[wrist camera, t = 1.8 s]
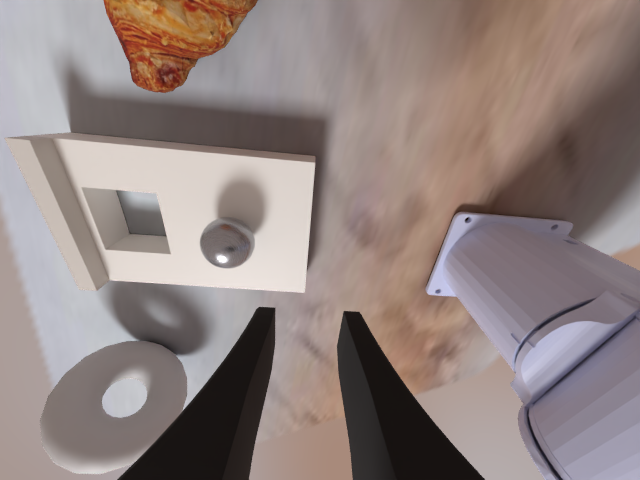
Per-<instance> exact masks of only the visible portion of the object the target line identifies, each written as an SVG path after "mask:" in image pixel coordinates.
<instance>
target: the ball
mask: <svg viewBox="0 0 640 480" xmlns="http://www.w3.org/2000/svg"><path fill="white" fill-rule="evenodd" d="M254 248H255V238H254V234H253V232H252V230H251V229H250V227H249V226H248V225H247V224H246V223H245V222H243V221H241V220H239V219H237V218H233V217H222V218H218V219H216V220H214V221H212V222H210V223H209V224H208V225H207V226H206V227H205V228H204V230H203V232H202V234H201V237H200V249H201V252H202V254H203V256H204V257H205V259H206V260H207V261H208V262H209V263H211V264H212V265H214V266H216V267H219V268H225V269H229V268H235V267H238V266H240V265H242V264H244V263H245V262H246V261H247V260H248V259H249V258H250V257H251V255H252V253H253V251H254Z"/></svg>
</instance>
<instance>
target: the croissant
mask: <svg viewBox="0 0 640 480" xmlns="http://www.w3.org/2000/svg"><path fill="white" fill-rule="evenodd" d="M257 1H258V0H104V4H105V8H106V13H107V15H108V17H109V20H110V22H111V24H112V26H113V28H114V30H115V32H116V34H117V36H118V39H119V41H120V43H121V45H122V48H123V50H124V53H125V55H126V57H127V59H128V61H129V64H130V72H131V76H132V80H133V82H134V83H135V84H136V85H137V86H139V87H141V88H143V89H146V90H149V91H153V92H162V93H166V92H170V91H173V90H174V89H175V88H176V87H179V86H182V85H183V84H184V82H185V81H186V79H187V76H188V73H189V71H190V70H191V68H192V67H195V65H196V62H197V60H198V58H201V57H205V56H209V55H212V54H214V53H215V52H217V51H219V50H220V49H222V48H224V47H225V46H226V45H227V44H228V42H229V41H230V39H231V37H232V36H233V35H234V34H235V33H236V32H237V30H238V27H239V25H240V24H241V22H242V21H243V19H244V18H245V17H246V15H247V13H248V12H249V11H250V10H251V9H252V8H253V7H254V6H255V5H256V3H257Z"/></svg>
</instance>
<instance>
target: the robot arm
mask: <svg viewBox="0 0 640 480" xmlns="http://www.w3.org/2000/svg"><path fill="white" fill-rule="evenodd" d="M467 217H469V219H468V220H467V221H465V219H466V218H467ZM552 226H553V227H552ZM572 228H573V224H572V223H571V222H568V221H563V220H551V219H539V218H528V217H516V216H504V215H493V214H481V213H470V212H459V213H457V214H455V216H454V217H453V220H452V222H451V225H450V227H449V230H448V233H447V235H446V238H445V240H444V243H443V245H442V248H441V251H440V253H439V256H438V258H437V261H436V264H435V266H434V269H433V271H432V274H431V276H430V279H429V282H428V284H427V287H426V292H427V293H428V294H429V295H440V296H455V297H458V299H459V300H460V301H461V303H462V304H463V305H464V307H465V308H466V309H467V310H468V312H469V313H470V314H471V316H472V317H473V318H474V320H475V321H476V322H477V324H478V325H479V326H480V328H481V329H482V330H483V332H484V333H485V334H486V335H487V337H488V338H489V339H490V341H491V342H492V343H493V345H494V346H495V347H496V349H497V350H498V351H499V353H500V354H501V355H502V356H503V358H504V359H505V360H506V362H507V363H508V364H509V366H510V367H511V368H512V370H513V371H514V372H515V373H516V376H515V378H514V380H513V381H512V382H511V384H510V385H511V387H512V388H513V390H514V391H515V392H516V394H517V395H518V397H519V398H520V399H521V401H522V402H523V405H522V406H521V408H520V410H519V414H518V424H519V429H520V433H521V436H522V439H523V441H524V444H525V446H526V448H527V450H528V452H529V454H530V456H531V458H532V460H533V462H534V463H535V465H536V467H537V468H538V470H539V471H540V473H541V474H542V476H543V478H544V479H545V480H640V271H639V270H637V269H635V268H633V267H631V266H629V265H626V264H625V263H623V262H621V261H619V260H617V259H614V258H612V257H610V256H608V255H606V254H604V253H602V252H600V251H598V250H596V249H594V248H592V247H590V246H588V245H586V244H584V243H582V242H580V241H578V240H576V239H574V238H572V237H570V236H568V234H569V233H570V231H571V230H572ZM437 289H439V290H437ZM436 290H437V291H436ZM274 348H275V308H269V307H259V308H257V309H256V311H255V313H254V315H253V317H252V318H251V320H250V322H249V324H248V325H247V327H246V329H245V330H244V332H243V333H242V335H241V336H240V338H239V339H238V341H237V342H236V344H235V345H234V347H233V348H232V349H231V351H230V352H229V354H228V355H227V357H226V358H225V359H224V361H223V362H222V363H221V365H220V366H219V367H218V369H217V370H216V371H215V372H214V374H213V375H212V376H211V378H210V379H209V380H208V382H207V383H206V384H205V385H204V387H203V388H202V389H201V390H200V391H199V393H198V394H197V395H196V396H195V397H194V399H193V400H192V401H191V402H190V403H189V405H188V406H187V407H186V408H185V409H184V410H183V411H182V413H181V414H180V415H179V416H178V417H177V418H176V419H175V420H174V422H173V423H172V424H171V425H170V426H169V427H168V428H167V429H166V430H165V431H164V432H163V433H162V435H161V436H160V437H159V438H158V439H157V440H156V441H155V442H154V443H153V444H152V445H151V446H150V447H149V448H148V449H147V450H146V452H145V453H144V454H143V455H142V456H141V457H140V458H139V459H138V460H137V461H136V462H135V463H134V464H133V465H132V466H131V467H130V468H129V469H128V470H127V471H126V472H125V473H124V474H123V475H122V476H121V477H120V478H119V479H118V480H249V474H250V468H251V462H252V455H253V450H254V445H255V440H256V436H257V431H258V427H259V423H260V418H261V414H262V410H263V405H264V401H265V397H266V392H267V388H268V383H269V379H270V375H271V370H272V363H273V355H274ZM337 353H338V371H339V379H340V385H341V392H342V398H343V405H344V411H345V418H346V424H347V430H348V437H349V444H350V452H351V463H352V475H353V480H485V479H484V478H483V477H482V476H481V475H480V474H479V473H478V471H477V470H476V469H474V467H473V466H472V465H471V464H470V463H469V462H468V461H467V459H465V457H464V456H463V455H462V454H461V453H460V452H459V451H458V450H457V449H456V448H455V446H454V445H453V444H452V443H451V442H450V441H449V439H448V438H447V437H446V436H445V435H444V433H443V432H442V431H441V430H440V429H439V428H438V426H436V424H435V423H434V422H433V421H432V419H431V418H430V417H429V415H428V414H427V413H426V412H425V410H424V409H423V408H422V407H421V405H420V404H419V403H418V402H417V400H416V399H415V397H414V396H413V395H412V393H411V392H410V391H409V389H408V388H407V387H406V385H405V384H404V382H403V381H402V380H401V378H400V377H399V375H398V374H397V372H396V371H395V370H394V368H393V367H392V365H391V364H390V362H389V360H388V359H387V357H386V356H385V354H384V353H383V351H382V350H381V348H380V346H379V345H378V343H377V341H376V340H375V338H374V336H373V335H372V333H371V331H370V330H369V328H368V326H367V324H366V322H365V321H364V319H363V317H362V315H361V314H360V312H351V311H344V313H343V318H342V323H341V328H340V334H339V339H338V344H337Z"/></svg>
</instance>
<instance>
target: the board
mask: <svg viewBox="0 0 640 480" xmlns="http://www.w3.org/2000/svg"><path fill="white" fill-rule="evenodd" d="M5 140H6V142H7V144H8V146H9V148H10V150H11V152H12V154H13V156H14V158H15V160H16V162H17V164H18V166H19V169H20V171H21V173H22V175H23V177H24V179H25V181H26V183H27V185H28V187H29V189H30V191H31V193H32V195H33V197H34V199H35V201H36V203H37V205H38V207H39V209H40V211H41V213H42V215H43V217H44V219H45V221H46V223H47V225H48V227H49V229H50V231H51V233H52V236H53V238H54V240H55V242H56V244H57V246H58V248H59V250H60V252H61V254H62V256H63V258H64V260H65V262H66V264H67V266H68V268H69V270H70V272H71V274H72V276H73V278H74V280H75V282H76V284H77V286H78V288H79V290H92V291H97V290H98V289H100V288H101V287H102V286H103V285H105V284H106V283H107V282H108V281H109V280H113V281H129V282H144V283H160V284H176V285H191V286H207V287H223V288H238V289H254V290H270V291H285V292H301V293H305V283H306V271H307V259H308V246H309V234H310V222H311V210H312V197H313V185H314V173H315V156H310V155H300V154H290V153H279V152H269V151H258V150H248V149H238V148H227V147H217V146H206V145H196V144H185V143H175V142H165V141H154V140H144V139H133V138H123V137H113V136H102V135H92V134H81V133H71V132H69V133H57V134H45V135H33V136H21V137H9V138H5ZM116 190H122V191H134V192H146V193H157V197H158V202H159V206H160V210H161V214H162V218H163V223H164V227H165V231H166V235H167V236H153V235H140V234H130V233H129V230H128V227H127V223H126V220H125V217H124V214H123V211H122V208H121V205H120V201H119V198H118V195H117V192H116ZM222 217H233V218H237V219H239V220H241V221H243V222H245V223H246V224H247V225H248V226H249V227H250V229H251V230H252V232H253V234H254V238H255V248H254V251H253V253H252V255H251V257H250V258H249V259H248V260H247V261H246V262H245V263H244V264H242V265H240V266H238V267H235V268H229V269H225V268H219V267H216V266H214V265H212V264H211V263H209V262H208V261H207V260H206V259H205V257H204V256H203V254H202V252H201V249H200V237H201V234H202V232H203V230H204V228H205V227H206V226H207V225H208V224H209V223H210V222H212V221H214V220H216V219H218V218H222Z"/></svg>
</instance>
